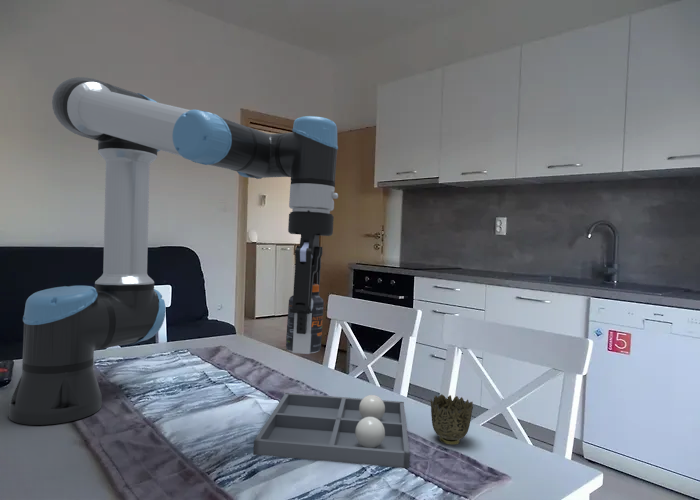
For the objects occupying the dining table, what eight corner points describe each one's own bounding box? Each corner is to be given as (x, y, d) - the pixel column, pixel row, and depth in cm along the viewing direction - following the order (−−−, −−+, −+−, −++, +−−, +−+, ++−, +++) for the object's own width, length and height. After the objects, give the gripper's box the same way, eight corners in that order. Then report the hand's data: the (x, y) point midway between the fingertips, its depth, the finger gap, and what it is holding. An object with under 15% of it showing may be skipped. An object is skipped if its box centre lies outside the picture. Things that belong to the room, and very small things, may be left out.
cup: (462, 458, 81) (465, 411, 81) (421, 446, 85) (424, 401, 85) (476, 444, 87) (478, 400, 87) (437, 433, 91) (439, 391, 91)
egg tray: (252, 460, 76) (254, 440, 76) (284, 408, 101) (285, 392, 101) (408, 474, 75) (409, 453, 75) (402, 417, 99) (403, 401, 99)
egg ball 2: (353, 452, 79) (355, 421, 79) (355, 439, 84) (356, 411, 84) (384, 454, 79) (385, 424, 79) (384, 442, 84) (385, 413, 84)
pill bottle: (315, 355, 79) (319, 286, 78) (280, 351, 80) (284, 283, 79) (324, 348, 84) (328, 283, 84) (292, 344, 86) (295, 280, 85)
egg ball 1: (357, 425, 91) (359, 398, 91) (359, 415, 96) (360, 390, 96) (384, 427, 90) (385, 400, 90) (384, 417, 95) (385, 392, 95)
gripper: (327, 208, 72) (318, 364, 72) (339, 216, 91) (332, 339, 91) (277, 206, 72) (269, 360, 73) (299, 214, 91) (293, 336, 92)
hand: (304, 348), depth 82 cm, fingers closed on pill bottle, 6 cm apart
